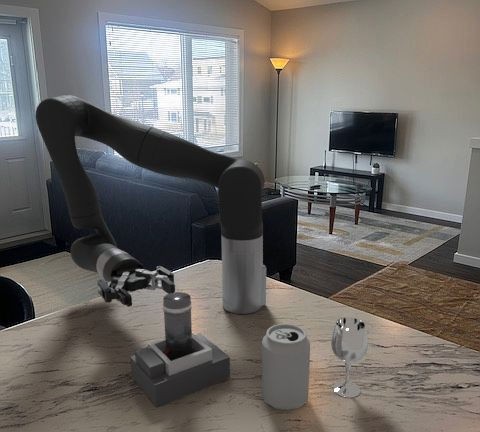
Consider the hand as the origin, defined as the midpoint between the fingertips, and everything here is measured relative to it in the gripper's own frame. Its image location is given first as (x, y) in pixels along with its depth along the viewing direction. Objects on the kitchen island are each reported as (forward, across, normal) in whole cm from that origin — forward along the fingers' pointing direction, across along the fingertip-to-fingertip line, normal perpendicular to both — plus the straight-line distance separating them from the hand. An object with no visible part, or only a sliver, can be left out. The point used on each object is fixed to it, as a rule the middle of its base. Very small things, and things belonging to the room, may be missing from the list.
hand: (152, 295), depth 88 cm
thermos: (+10, 0, +7) cm, 13 cm away
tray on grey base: (+10, 0, +11) cm, 15 cm away
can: (+26, +11, +12) cm, 30 cm away
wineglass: (+30, +21, +12) cm, 38 cm away
